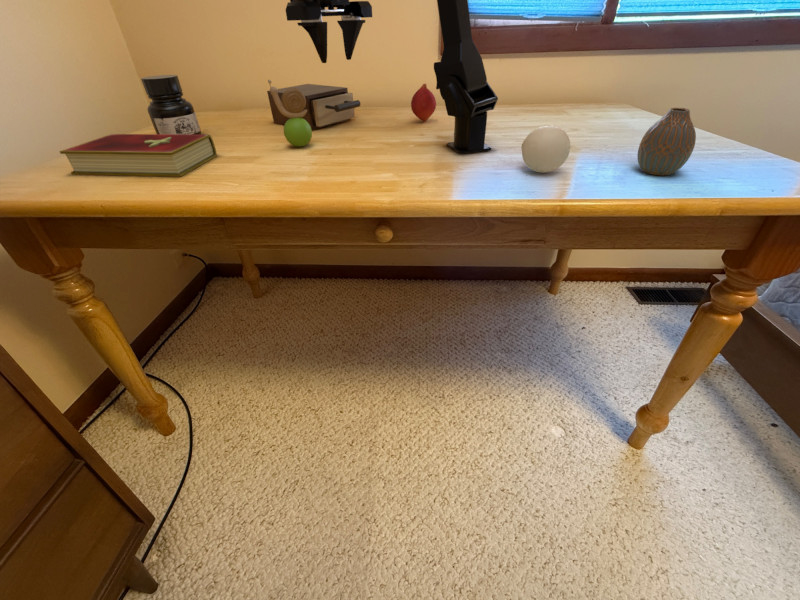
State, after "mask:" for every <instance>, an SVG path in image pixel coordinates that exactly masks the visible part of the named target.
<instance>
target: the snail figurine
mask: <svg viewBox="0 0 800 600" xmlns="http://www.w3.org/2000/svg"><path fill="white" fill-rule="evenodd" d="M267 82H268V84H269V87H270V88H269V91H271V94H272V96H273V99H274V101H275V104H276V106H277V108H278V110H279V111H280V112H281V114H283V115H284V116H286V117H288V118H290V119H289V120H288V121H287V122H286V123H285V125H283V135H284V139H285V140H286V141H287V142H288V143H289V144H290V145H291V146H293V147H297V148H300V147H301V148H302V147H305V146H307V145H308V144H309V143H310V142H311V140H312V137H313V130H312V129H311V127H310V125H309V123H308V122H307V121H306V120H305V119H303V118H301V117H303V116H304V115H305V114H306V113H307V110H303V109H304V108H305V106H306V99H305V96H304V94H303V93H302V92H301V91H300V90H298V89H296V88H289V89H287V90H286V91H285V92H284V93H283V95H282V99H281V100H280V98H279V96H278V90H277V89H278V88H277V87H276V86H271V84H272V80H271V79H268V80H267Z"/></svg>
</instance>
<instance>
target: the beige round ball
mask: <svg viewBox="0 0 800 600" xmlns="http://www.w3.org/2000/svg"><path fill="white" fill-rule="evenodd" d="M570 151H571V140H570V137H569V135H568V133H567V132H566V131H565V130H564V129H563V128H561V127H559V126H556V125H542V126H539V127H537V128H535V129H533V130H532V131H530V132H529V133H528V135H526V137H525V138H524V140H523V141H522V143H521V157H522V160H523V162H524V164H525V166H526V167H527V168H529V170H531V171H533V172H536V173H541V174H544V173H551V172H553V171H556V170H557V169H559V168H561V167H562V166H563V165H564V164H565V162H566V161H567V159H568V157H569V154H570Z"/></svg>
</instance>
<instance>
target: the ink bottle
mask: <svg viewBox="0 0 800 600" xmlns="http://www.w3.org/2000/svg"><path fill="white" fill-rule="evenodd" d="M140 81H141V83H142V85H143V88H144V92H145V93H146V95H147V98H148V99H149V100H151V101H150V102H149V105H148V106H147V110H146V111H147V114H148V116H149V118H150V121H151V124H152V127H153V129H154V132H155V134H184V135H202V131H201V130H202V129H201V126H200V124H199V120H198V117H197V115H196V114H197V113H196V112H195V109H194V106H193V104H192V103H191V102H190V101H188V100H186V98H184V97H183V96H184V92H183V89H182V85H181V83H180V80H179V76H178V75H177V74H159V75H150V76H144V77H141V78H140Z"/></svg>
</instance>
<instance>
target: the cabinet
mask: <svg viewBox="0 0 800 600" xmlns="http://www.w3.org/2000/svg"><path fill="white" fill-rule="evenodd" d="M289 88H296V89H298V90H300V91H301V92H302V93H303V94H304V96H305V99H306V106H305V108H304V109H303V110H307V113H306V114H305V115H304V116H303V117H301V118H303V119H305V120H306V121H307V122H308V123H309V125H310V127H311V129H312V131H314V130H318V129H321V128H325V127H330V126H333V125H336V124H340V123H343V122H344V123H345V122H347V121H351V118H350V119H346V120H343V121H339V122H335V123H332V124H328V125H324V126H320V127H319V126H316V123H313V116H312V110H311V103H310V99H314V98H318V97H323V96H328V95H333V94H338V93H342V94H345V93H349V89H348V87H343V86H336V85H335V86H334V85H323V84H313V83H305V84H300V85H293V86H288V87H282V88H277V90H278V96H279V98H280V100H281V99H282V95H283V93H284V92H285V91H286V90H287V89H289ZM266 94H267V97H268V102H269V107H270V111H271V115H272V120H273V123H274V124H278V125H283V126H284V125H285V123H286V122H287V121H288V120H289V119H290V118H288V117H286V116H284V115H283V114H281V112H280V111H279V110H278V108H277V106H276V104H275V101H274V99H273V96H272V94H271V91H270V90H267V91H266Z"/></svg>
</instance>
